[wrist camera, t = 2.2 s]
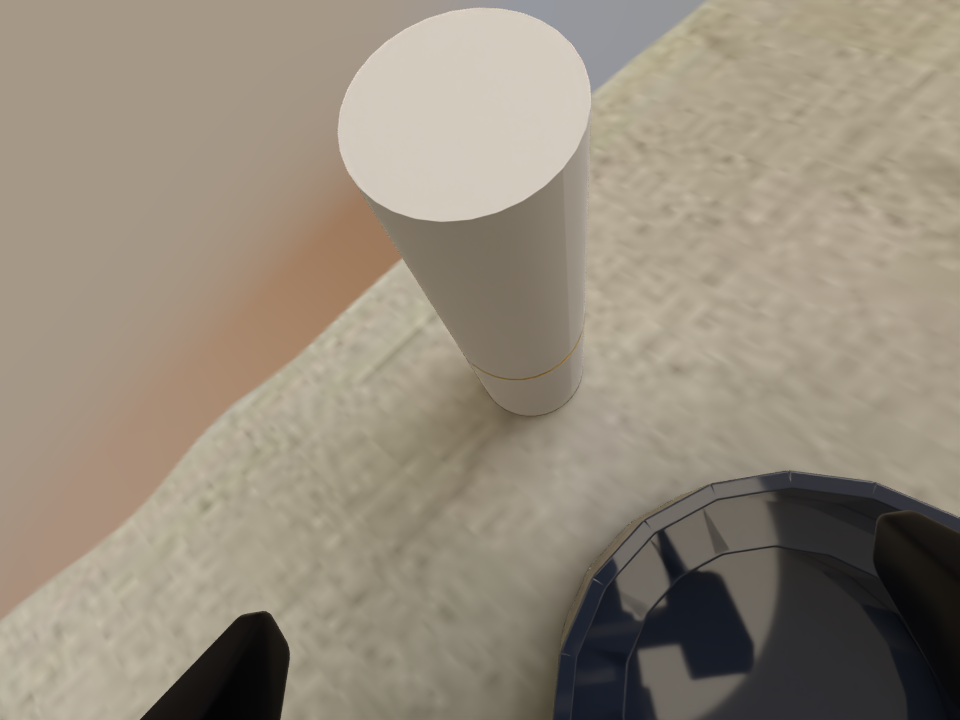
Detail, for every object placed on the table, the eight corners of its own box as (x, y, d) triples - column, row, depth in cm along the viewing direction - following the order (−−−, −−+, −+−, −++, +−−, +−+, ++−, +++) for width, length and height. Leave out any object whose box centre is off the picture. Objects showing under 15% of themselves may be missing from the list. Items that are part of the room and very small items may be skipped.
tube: (604, 356, 23) (646, 71, 9) (539, 437, 22) (473, 271, 8) (523, 299, 24) (448, -26, 10) (460, 374, 24) (288, 140, 10)
